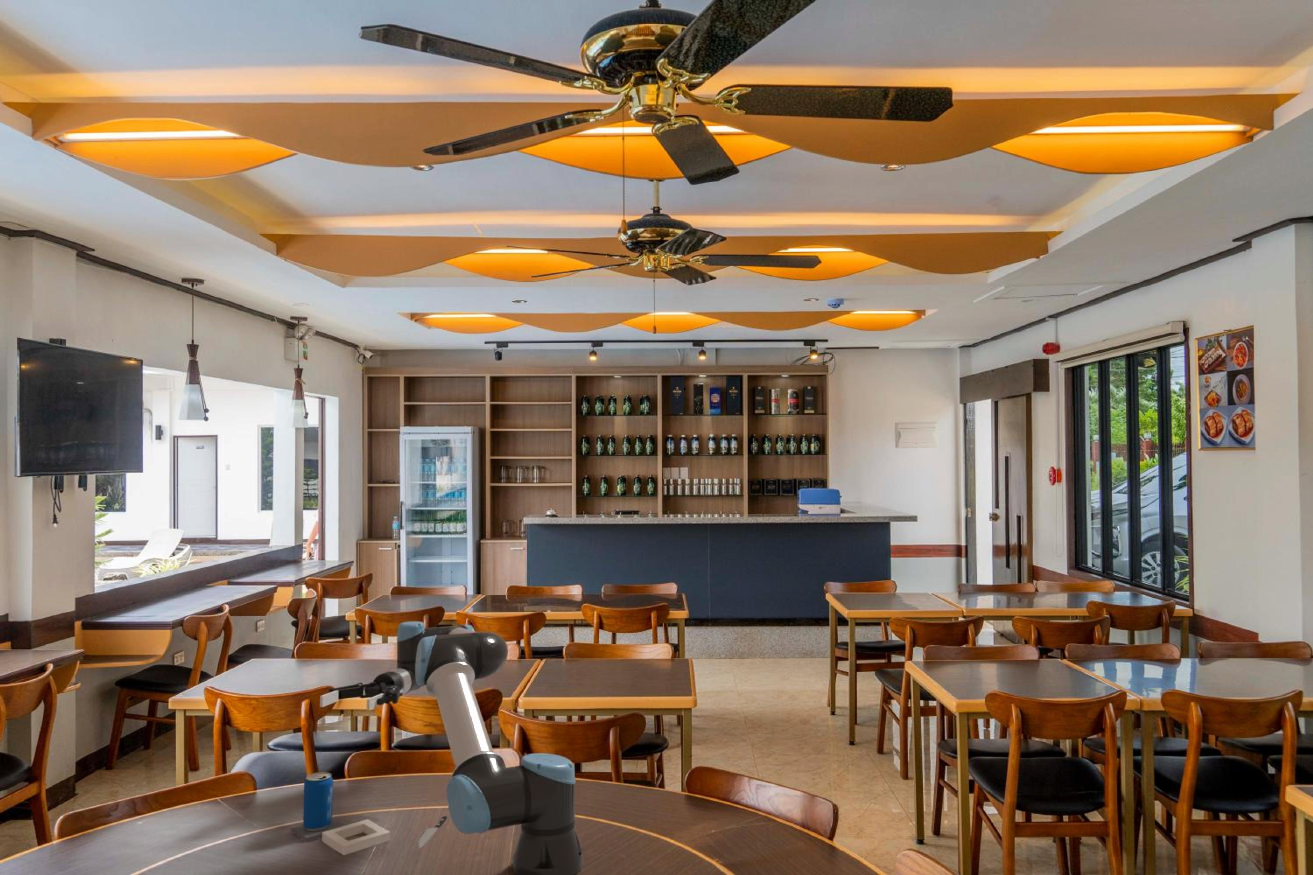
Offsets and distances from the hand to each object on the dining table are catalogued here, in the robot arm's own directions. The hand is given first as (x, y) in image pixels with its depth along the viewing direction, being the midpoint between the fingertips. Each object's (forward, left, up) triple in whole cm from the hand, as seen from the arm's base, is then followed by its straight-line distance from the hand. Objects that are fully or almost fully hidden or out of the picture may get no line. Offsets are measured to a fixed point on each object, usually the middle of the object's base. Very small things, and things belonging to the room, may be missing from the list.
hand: (344, 703), depth 215 cm
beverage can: (-5, +8, -27) cm, 29 cm away
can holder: (-17, +4, -28) cm, 33 cm away
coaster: (-5, +8, -28) cm, 30 cm away
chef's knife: (-25, -10, -29) cm, 39 cm away
